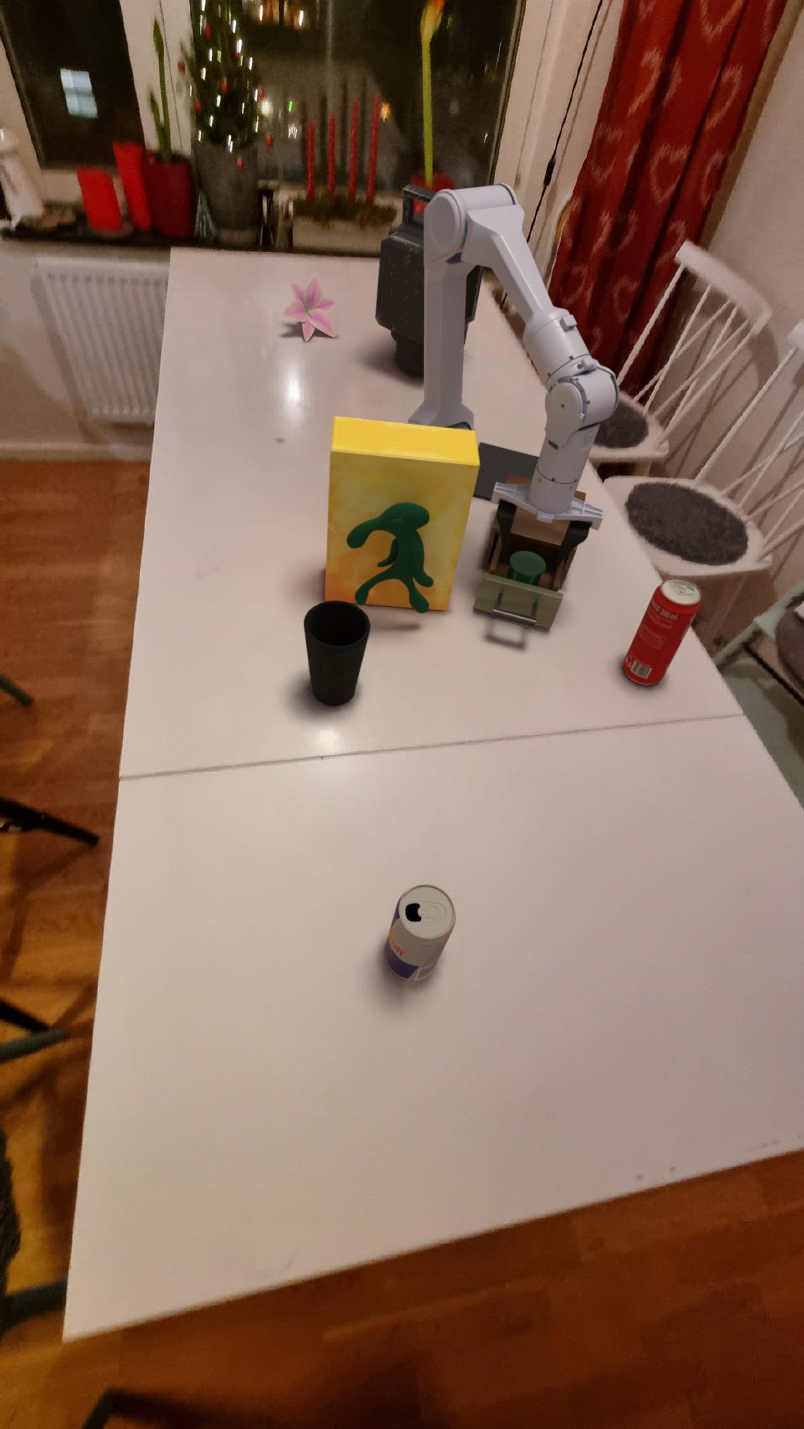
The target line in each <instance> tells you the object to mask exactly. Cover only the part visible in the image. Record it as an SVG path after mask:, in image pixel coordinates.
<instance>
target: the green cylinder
mask: <svg viewBox="0 0 804 1429" xmlns="http://www.w3.org/2000/svg"><path fill="white" fill-rule="evenodd" d="M509 564H510V565H509V568H508V572H507V575H506V578H507V579H511V580H514V581H518V582H522V583H526V584H529V585H533V586H537V587H538V584H539V581H540V578H541V576H542V574H543V573H544V571H545V569H546V564H545V561H544V560H543V559H542V558H541V557H540V556H539V555H537V554H535V553H532V552H529V551H519V552H516V553H514V554H513V555H512V556H511V557H510V561H509Z"/></svg>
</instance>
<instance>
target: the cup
mask: <svg viewBox="0 0 804 1429" xmlns="http://www.w3.org/2000/svg"><path fill="white" fill-rule="evenodd" d="M371 626H372V625H371V620H370V617H369V616H368V615H367V613H366V612H365V611H364V610H363V609H362V608H361V607H359V605H356V604H355V603H349V602H345V601H337V600H334V601H326V600H325V601H322V602H319V603H318V604H315V605H314V606H313V607H311V608H310V609H308V611H307V612H306V614H305V615H304V619H303V631H304V638H305V647H306V655H307V664H308V671H309V678H310V679H309V680H310V689H311V693H312V695H313V697H314V698H315V700H316V701H318V702H319V703H321V705H322V704H323V705H325V706H328V707H339V706H340V707H341V706H343V705H346V704H347V703H350V701H351V700H352V699H353V698H354V696H355V694H356V690H357V685H358V680H359V676H360V672H361V668H362V665H363V660H364V656H365V652H366V649H367V644H368V640H369V636H370V633H371V628H372V627H371Z"/></svg>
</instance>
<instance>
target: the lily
mask: <svg viewBox="0 0 804 1429" xmlns="http://www.w3.org/2000/svg"><path fill="white" fill-rule="evenodd" d="M288 285H289V288H290V291H291V293H292V295H293V298H294V300H293V301H292V302H291V303H290V304H289V305H288V306H287V307H286V308H285V309H284V310H283V311H282V316H283V317H285V318H287V319H290V320H293V321H297V322H298V324H301V327H302V333H303V337H304V341H305V342H308V341H309V340H310V338H311V337H312V335H313V333H314V332H315V329H317V330H318V331H321V332H322V333H324V334H326V335H328V336H330V337H332V338H336V331H335V327H334V325H333V322H332V319H331V317H330V315H329V313H330V312H331V311H332V310H333V309H334V308H335V307H336V306H337V302H336V301H335V300H333V299H330V298H327V297H324V290H323V283H322V279H321V275H320V273H319V271H315V272H314V273H313V275H312V276H311V278H310V279H309V281H308V282H307V284H306V285H305V288H304V287H302V286H301V285H299V284H298V283H296V282H293V281H292V280H288Z"/></svg>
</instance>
